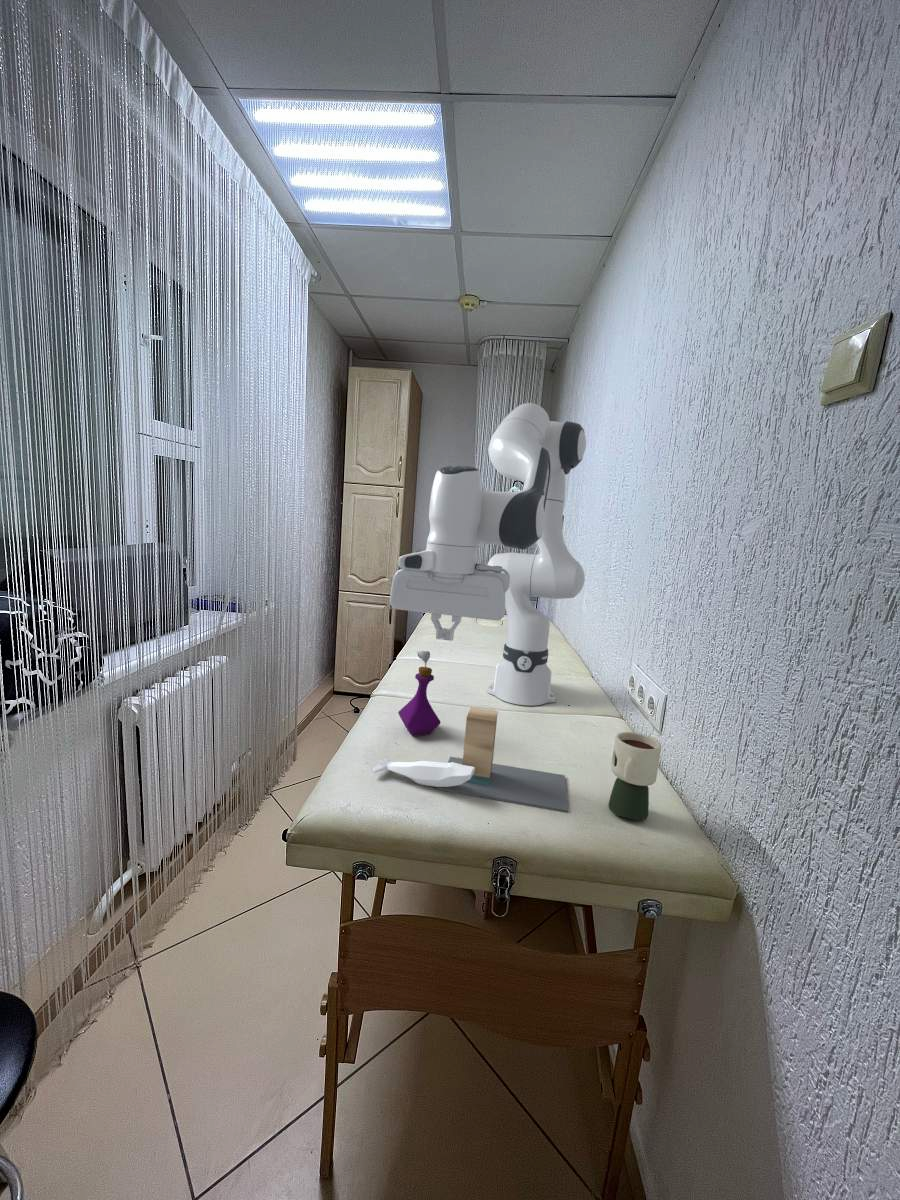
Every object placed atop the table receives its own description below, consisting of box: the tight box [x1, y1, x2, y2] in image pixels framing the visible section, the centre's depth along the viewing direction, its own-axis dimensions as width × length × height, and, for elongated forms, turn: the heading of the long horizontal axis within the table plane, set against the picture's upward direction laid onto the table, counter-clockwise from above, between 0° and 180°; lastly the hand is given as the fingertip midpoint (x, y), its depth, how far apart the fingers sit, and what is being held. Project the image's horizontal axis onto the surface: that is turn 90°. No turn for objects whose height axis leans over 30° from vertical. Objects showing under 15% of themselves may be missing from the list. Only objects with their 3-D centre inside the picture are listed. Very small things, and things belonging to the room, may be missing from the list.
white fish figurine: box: [372, 757, 476, 788], centre depth 87 cm, size 6×18×4 cm, turn 71°
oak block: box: [462, 706, 499, 786], centre depth 90 cm, size 5×5×12 cm
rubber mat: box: [437, 756, 569, 813], centre depth 90 cm, size 12×22×1 cm, turn 80°
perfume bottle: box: [397, 650, 441, 737], centre depth 108 cm, size 8×8×18 cm
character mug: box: [607, 731, 662, 821], centre depth 83 cm, size 11×7×13 cm, turn 147°
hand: (444, 639), depth 88 cm, fingers closed
